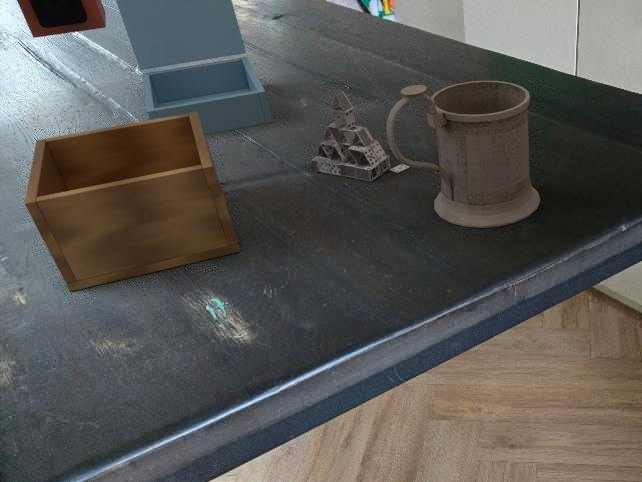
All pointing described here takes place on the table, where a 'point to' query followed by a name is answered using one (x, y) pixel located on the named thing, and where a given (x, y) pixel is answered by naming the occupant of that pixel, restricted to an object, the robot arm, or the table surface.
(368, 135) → the house of cards
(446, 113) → the mug
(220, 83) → the box
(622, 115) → the table surface
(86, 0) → the block
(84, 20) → the robot arm
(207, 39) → the lid
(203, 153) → the open wooden crate
